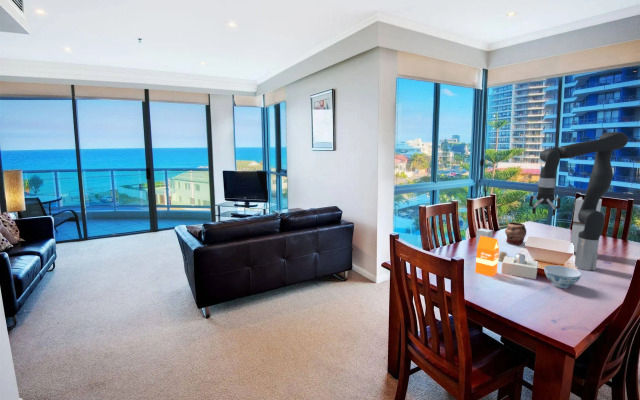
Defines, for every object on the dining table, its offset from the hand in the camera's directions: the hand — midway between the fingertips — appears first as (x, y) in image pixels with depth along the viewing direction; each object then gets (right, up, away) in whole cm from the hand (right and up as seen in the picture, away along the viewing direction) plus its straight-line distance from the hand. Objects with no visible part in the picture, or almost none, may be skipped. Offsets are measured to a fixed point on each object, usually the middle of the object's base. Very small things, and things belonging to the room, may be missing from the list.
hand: (543, 214), depth 191 cm
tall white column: (+40, -26, +25) cm, 54 cm away
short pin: (-15, -28, +15) cm, 35 cm away
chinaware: (-4, -35, -20) cm, 40 cm away
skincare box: (-19, -26, +30) cm, 44 cm away
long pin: (-15, -31, -3) cm, 35 cm away
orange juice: (-33, -32, -3) cm, 46 cm away
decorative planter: (+12, -22, +49) cm, 55 cm away
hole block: (-15, -31, -3) cm, 35 cm away
